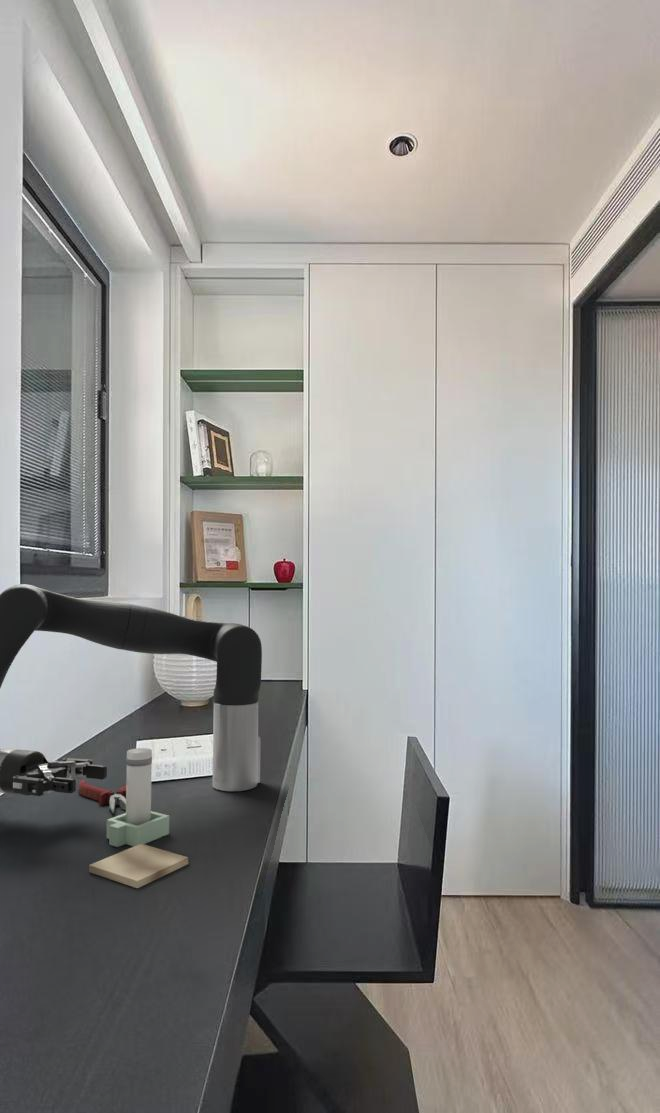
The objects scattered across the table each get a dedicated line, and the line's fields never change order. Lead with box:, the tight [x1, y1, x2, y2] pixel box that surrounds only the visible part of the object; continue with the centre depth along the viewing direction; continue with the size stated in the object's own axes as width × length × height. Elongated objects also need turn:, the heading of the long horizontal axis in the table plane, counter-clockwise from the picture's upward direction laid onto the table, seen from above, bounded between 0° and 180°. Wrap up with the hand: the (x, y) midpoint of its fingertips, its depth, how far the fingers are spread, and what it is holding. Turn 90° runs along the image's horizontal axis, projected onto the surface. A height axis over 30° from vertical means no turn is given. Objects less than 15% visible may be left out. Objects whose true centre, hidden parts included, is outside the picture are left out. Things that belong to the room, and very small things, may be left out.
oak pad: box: [88, 844, 189, 889], centre depth 105 cm, size 10×10×1 cm
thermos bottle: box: [125, 747, 153, 826], centre depth 118 cm, size 4×4×14 cm
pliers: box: [78, 779, 126, 814], centre depth 137 cm, size 12×20×3 cm, turn 25°
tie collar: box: [105, 810, 170, 848], centre depth 117 cm, size 9×7×3 cm
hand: (90, 779), depth 121 cm, fingers open, 8 cm apart
